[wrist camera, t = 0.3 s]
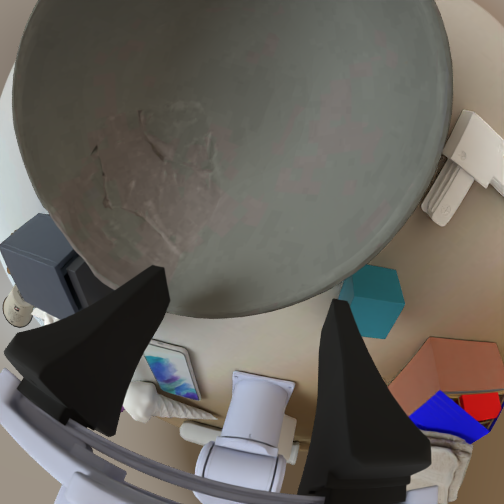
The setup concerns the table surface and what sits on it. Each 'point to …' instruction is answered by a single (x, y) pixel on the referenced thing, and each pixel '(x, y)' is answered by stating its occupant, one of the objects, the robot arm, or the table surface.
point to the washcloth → (444, 465)
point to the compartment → (40, 265)
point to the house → (452, 387)
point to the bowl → (232, 138)
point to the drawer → (83, 283)
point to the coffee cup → (17, 309)
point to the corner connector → (466, 166)
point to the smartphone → (172, 369)
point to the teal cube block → (373, 299)
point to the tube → (208, 433)
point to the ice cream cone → (157, 404)
